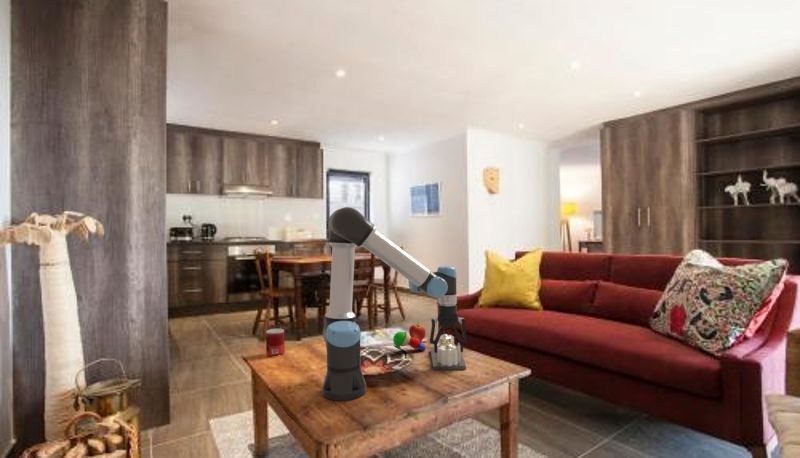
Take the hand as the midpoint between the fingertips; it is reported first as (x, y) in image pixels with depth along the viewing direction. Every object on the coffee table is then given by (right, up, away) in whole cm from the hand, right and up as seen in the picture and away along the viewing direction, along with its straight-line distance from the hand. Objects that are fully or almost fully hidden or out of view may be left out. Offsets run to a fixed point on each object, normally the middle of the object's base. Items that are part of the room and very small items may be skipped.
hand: (448, 360), depth 165 cm
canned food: (-77, -4, +20) cm, 80 cm away
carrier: (0, -3, +8) cm, 9 cm away
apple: (-11, -3, +37) cm, 39 cm away
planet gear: (0, -1, 0) cm, 1 cm away
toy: (-16, -3, +21) cm, 27 cm away
